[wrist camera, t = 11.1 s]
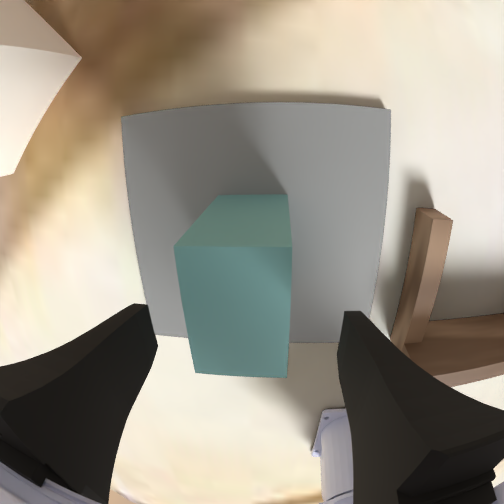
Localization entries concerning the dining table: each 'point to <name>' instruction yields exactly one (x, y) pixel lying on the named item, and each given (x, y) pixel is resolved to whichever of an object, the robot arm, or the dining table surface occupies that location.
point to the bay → (442, 331)
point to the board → (265, 182)
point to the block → (238, 285)
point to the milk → (27, 76)
